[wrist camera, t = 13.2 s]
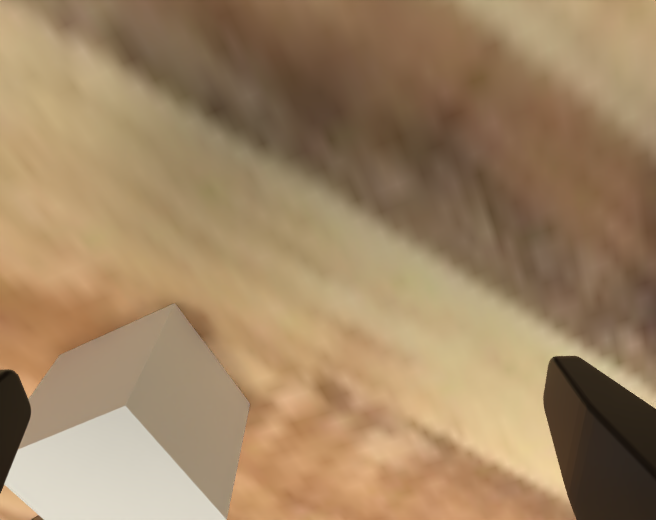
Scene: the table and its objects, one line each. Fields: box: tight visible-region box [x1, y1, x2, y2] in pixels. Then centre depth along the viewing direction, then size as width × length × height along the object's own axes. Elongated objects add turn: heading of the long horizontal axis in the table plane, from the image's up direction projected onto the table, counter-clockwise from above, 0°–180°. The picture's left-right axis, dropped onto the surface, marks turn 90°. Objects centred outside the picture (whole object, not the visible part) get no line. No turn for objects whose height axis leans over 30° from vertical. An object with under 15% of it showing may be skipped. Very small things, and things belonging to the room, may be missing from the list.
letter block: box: [4, 303, 250, 520], centre depth 22 cm, size 6×6×6 cm
